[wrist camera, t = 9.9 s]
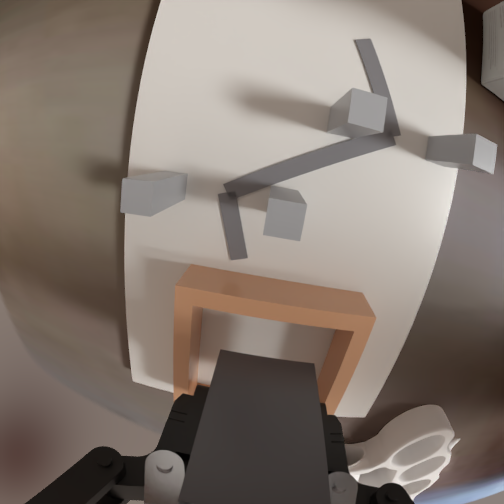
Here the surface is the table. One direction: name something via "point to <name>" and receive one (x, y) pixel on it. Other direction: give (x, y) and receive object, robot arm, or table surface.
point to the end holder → (272, 308)
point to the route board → (294, 169)
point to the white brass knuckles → (405, 451)
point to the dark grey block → (259, 436)
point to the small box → (493, 50)
